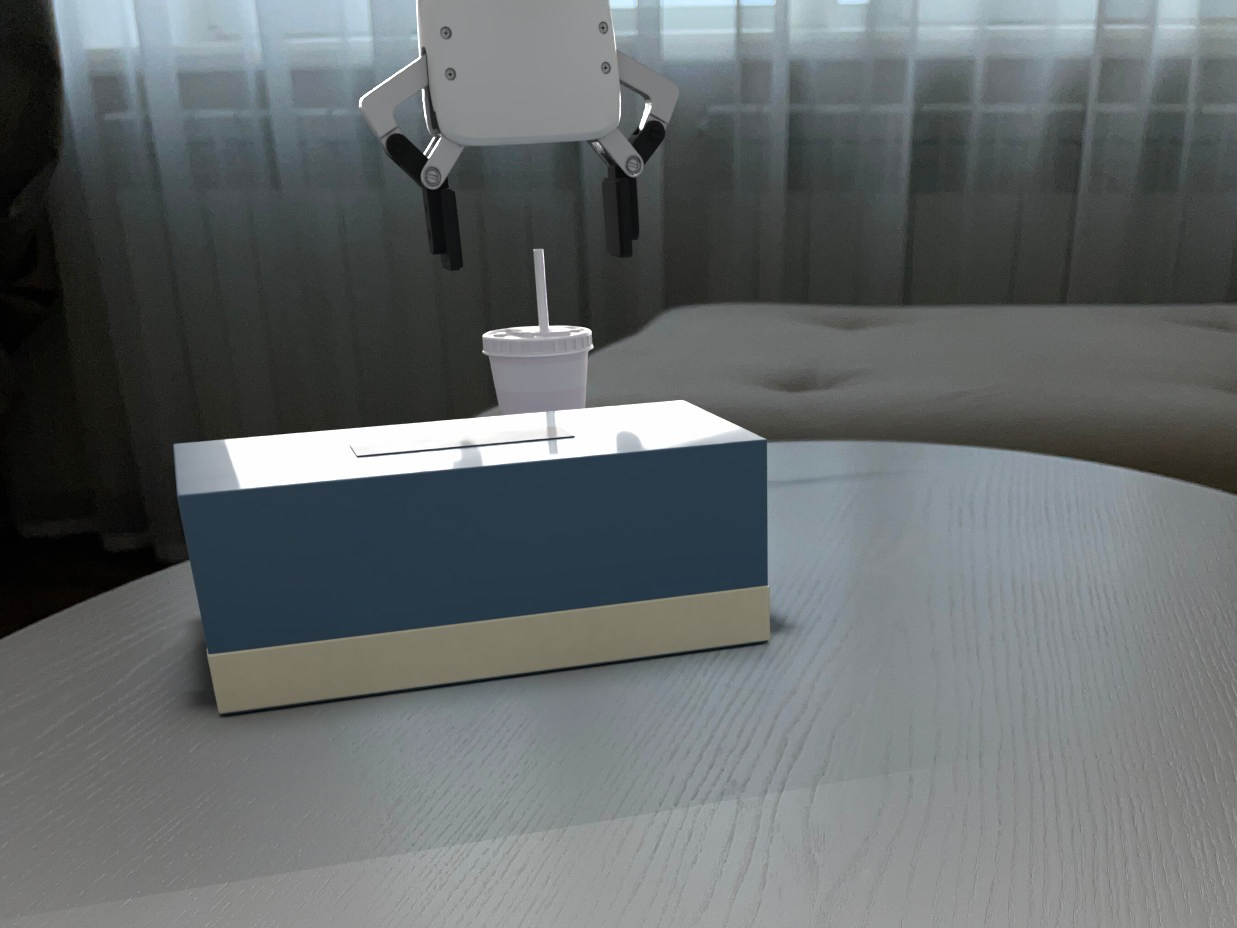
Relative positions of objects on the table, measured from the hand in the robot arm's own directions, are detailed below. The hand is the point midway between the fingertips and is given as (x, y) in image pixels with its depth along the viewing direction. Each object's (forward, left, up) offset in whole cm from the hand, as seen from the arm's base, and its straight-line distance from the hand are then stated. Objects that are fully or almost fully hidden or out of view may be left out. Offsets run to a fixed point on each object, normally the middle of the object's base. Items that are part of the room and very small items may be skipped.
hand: (537, 262), depth 81 cm
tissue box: (-9, -25, -13) cm, 30 cm away
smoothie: (0, 0, -14) cm, 14 cm away
